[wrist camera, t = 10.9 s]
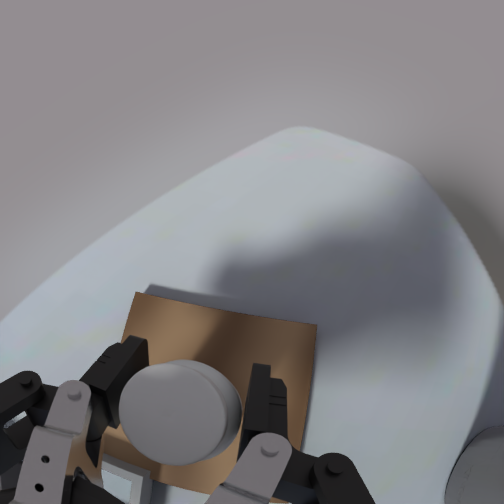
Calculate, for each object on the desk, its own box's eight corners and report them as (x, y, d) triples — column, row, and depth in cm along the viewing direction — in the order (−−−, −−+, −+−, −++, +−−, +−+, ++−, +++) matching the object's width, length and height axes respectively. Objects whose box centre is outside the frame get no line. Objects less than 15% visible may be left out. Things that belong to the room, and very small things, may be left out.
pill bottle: (192, 356, 15) (153, 320, 8) (257, 397, 14) (270, 399, 7) (151, 412, 13) (82, 417, 7) (214, 456, 12) (190, 503, 5)
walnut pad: (313, 328, 18) (317, 324, 17) (285, 498, 12) (288, 503, 11) (140, 296, 18) (135, 291, 17) (104, 455, 12) (97, 458, 12)
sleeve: (155, 467, 13) (142, 476, 10) (145, 541, 9) (134, 556, 7) (63, 428, 13) (44, 429, 11) (59, 501, 9) (41, 508, 7)
